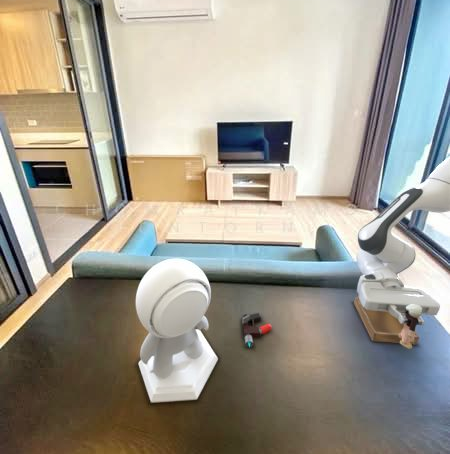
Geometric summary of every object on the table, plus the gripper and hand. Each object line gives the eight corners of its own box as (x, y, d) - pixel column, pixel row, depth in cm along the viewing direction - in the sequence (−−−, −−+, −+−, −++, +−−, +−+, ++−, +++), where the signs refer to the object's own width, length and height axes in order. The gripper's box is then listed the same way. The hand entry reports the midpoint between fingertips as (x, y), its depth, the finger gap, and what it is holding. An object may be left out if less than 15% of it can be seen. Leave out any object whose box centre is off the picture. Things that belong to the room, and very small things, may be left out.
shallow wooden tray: (390, 306, 92) (393, 299, 91) (416, 345, 78) (419, 337, 77) (353, 303, 93) (355, 296, 92) (372, 341, 79) (374, 333, 78)
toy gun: (244, 350, 76) (244, 339, 74) (240, 317, 87) (240, 307, 86) (275, 349, 76) (276, 338, 75) (268, 316, 88) (268, 306, 86)
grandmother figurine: (418, 354, 66) (432, 319, 61) (402, 350, 67) (414, 316, 62) (407, 328, 73) (418, 295, 68) (392, 326, 74) (402, 293, 69)
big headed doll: (158, 427, 59) (141, 315, 46) (133, 348, 76) (115, 253, 64) (228, 377, 69) (230, 274, 56) (191, 318, 87) (186, 231, 74)
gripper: (418, 295, 79) (451, 335, 66) (351, 290, 81) (370, 328, 68) (424, 279, 77) (459, 317, 64) (355, 275, 79) (375, 310, 66)
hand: (412, 323), depth 66 cm, fingers closed on grandmother figurine, 3 cm apart
